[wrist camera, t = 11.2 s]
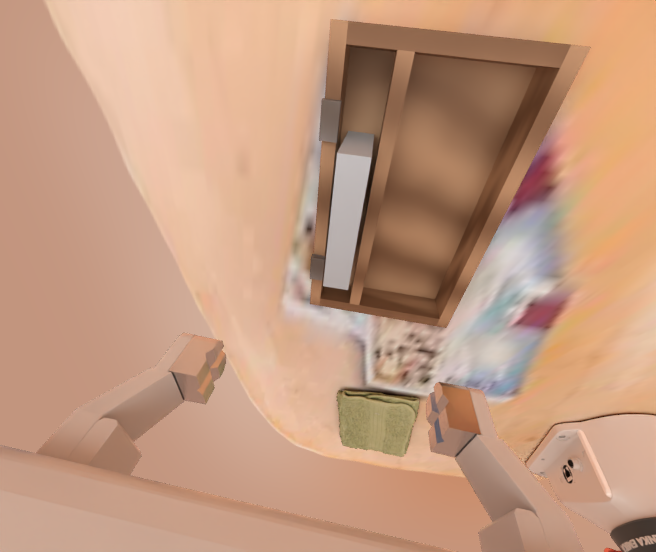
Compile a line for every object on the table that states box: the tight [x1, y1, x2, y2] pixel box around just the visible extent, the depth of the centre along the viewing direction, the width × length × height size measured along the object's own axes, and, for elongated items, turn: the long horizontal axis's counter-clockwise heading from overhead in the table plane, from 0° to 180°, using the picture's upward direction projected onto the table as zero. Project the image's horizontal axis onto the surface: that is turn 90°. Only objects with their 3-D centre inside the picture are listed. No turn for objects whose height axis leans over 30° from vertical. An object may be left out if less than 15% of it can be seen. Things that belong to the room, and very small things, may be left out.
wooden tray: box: [310, 19, 591, 328], centre depth 23 cm, size 22×14×5 cm, turn 175°
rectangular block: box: [323, 131, 374, 290], centre depth 22 cm, size 10×2×7 cm, turn 175°
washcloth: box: [337, 390, 419, 457], centre depth 48 cm, size 13×18×3 cm
